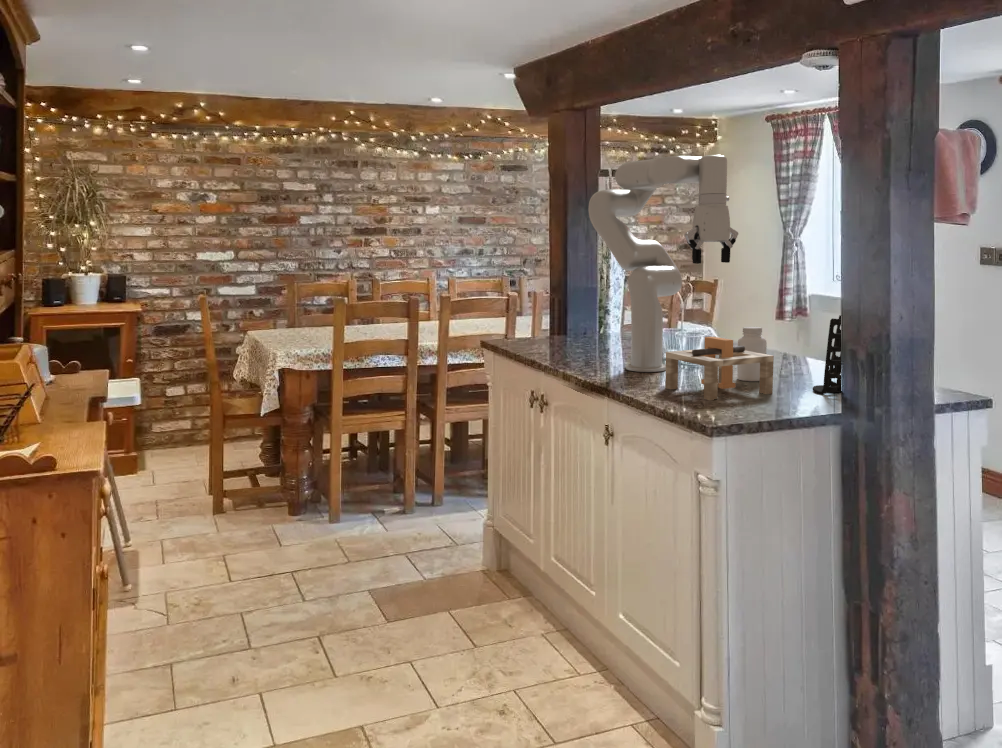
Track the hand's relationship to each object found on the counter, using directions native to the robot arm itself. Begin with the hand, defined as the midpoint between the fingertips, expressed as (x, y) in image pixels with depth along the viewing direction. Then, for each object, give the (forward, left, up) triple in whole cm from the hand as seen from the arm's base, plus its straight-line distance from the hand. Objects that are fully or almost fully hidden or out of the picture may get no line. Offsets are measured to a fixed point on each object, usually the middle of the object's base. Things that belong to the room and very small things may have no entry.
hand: (711, 262), depth 261 cm
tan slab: (+15, -8, -32) cm, 36 cm away
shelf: (+15, -8, -33) cm, 37 cm away
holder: (+30, +17, -34) cm, 48 cm away
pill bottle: (+5, +11, -34) cm, 36 cm away
